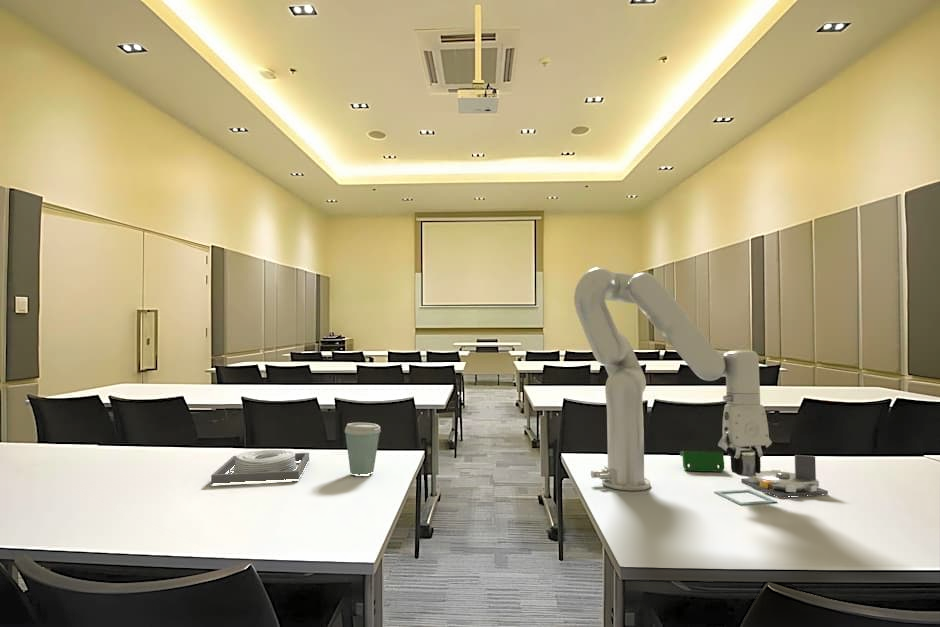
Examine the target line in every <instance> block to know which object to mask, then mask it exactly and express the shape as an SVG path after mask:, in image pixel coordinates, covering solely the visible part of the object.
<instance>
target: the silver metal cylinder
mask: <svg viewBox="0 0 940 627" xmlns="http://www.w3.org/2000/svg"><path fill="white" fill-rule="evenodd" d="M739 458H741V459H742V475H738V474H736V475H738V476H741V477H747V478H748V477H753V476H756V461H755V450H752V449H750V448H747V447H741V450H740V456H739Z"/></svg>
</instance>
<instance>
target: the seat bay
mask: <svg viewBox="0 0 940 627" xmlns="http://www.w3.org/2000/svg"><path fill="white" fill-rule="evenodd" d="M736 493H737V494H738V493H739V494H740V493H750V494H752V495H754V494H755V495H754V496H756V495H757V497H759V496H760V497H759V498H761V497H762V498H761V499H763V498H765V499H767V500H765V499H764V500H759V501H755V500H754V501H744V502H741V501H739V500H737V499H735V498H733V497H731V496H729V495H726V494H736ZM714 494H717V495H718V496H719V497H720V496H721V497H722V498H725V499H727V500H728V501H730V500H731V502H732V501H733V502H732V503H734V502H735V503H734V504H736V505H739V506H749V505H750V506H751V505H752V506H753V505H763V503H767V504H773V503H772V502H777V503H778V501H777V500H775V499H772V498H770V497H767V496H765V495H764V494H761V493H758V492H756V491H753V490H751V489H733V490H719V491H717V490H716V491H714ZM768 500H769V501H768Z"/></svg>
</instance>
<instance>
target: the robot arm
mask: <svg viewBox="0 0 940 627" xmlns="http://www.w3.org/2000/svg"><path fill="white" fill-rule="evenodd" d="M573 301H574V307H575V311H576V315H577V317H578V319H579V322H580V324H581V326H582V329H583V332H584V334H585V336H586V339H587V342H588V344H589V346H590V349H591V352H592V355H593V356H594V358H595V360H596V361H597V362H598V363H600V364H601V365H603V366H604V368H605V371H606V373H607V375H608V377H607V379H606V382H605V393H604V394H605V404H606V405H605V406H606V420H607V421H606V426H607V427H606V430H607V431H606V432H607V465H604V468H602V469H601V470H591V471H590V476H591V478H592V479H596V478H599V480H602V484H603V485H604V486H606V487H607V488H611V489H613V490H619V491H626V490H627V491H628V492H629V491H630V492H631V491H633V492H634V491H636V492H637V491H644V490H645V491H646V490H647V489H649V488H650V487H651V481H650V480H649V478H646V477H645V441H644V439H645V437H644V436H645V435H644V434H645V432H644V406H643V404H644V403H643V402H644V401H643V394H644V392H645V390H646V386H647V380H646V376H645V374H644V371H643V368H642V366H641V364H640V362H639V360H638V358H637V356H636V353H635V351H634V349H633V347H632V344H631V342H630V341H629V339H628V338H627V337H626V336H625V335H624V334H622V333H621V332H619V330H618V328H617V326H616V324H615V322H614V319H613V317H612V314H611V312H610V310H609V308H608V306H607V303H606V301H612V302H620V303H626V304H635V306H636V307H637V308H638V309H639V310H640V311H641V312H642V313H643V314H644V316H645V317H646V318H647V319H648V321H650V322H651V324H652V326H654V328H655V329H656V330H657V331H658V333H659V334H660V335H661V336H662V338H664V340H666V341H667V342H668V343H669V345H670V346H671V347H672V348H673V349H674V351H675V352H676V353H677V354H678V355H679V356H680V358H681V359H682V360H683V361H684V362H685V364H686V365H687V366H688V368H690V370H691V371H692V372H693V373H694V374H695V376H697V377H699V379H701V380H703V381H709V382H711V381H715V380H718V379H720V378H721V377H723V378H725V388H726V395H723V396H722V400H723V401H724V402H726V404H724V407H723V408H724V409H723V413H722V414H723V416H722V436H721V438H720V440H719V441H718V443H717V446H718V447H719V448H721V449H722V450H724V451H725V452H726V453H727V455H728V457H730V469H731V472H732V473H734V474H736V475H737V474H738V476H740V475H742V459H741V458H739V456H740V450H741V448H747V447H749V449H752V450H755V461H756V473H761V471H762V470H761V468H762V465H761V458H762V457H763V456H764V453H765V451H766V450H767V448H768V447H770V446H771V445H772V440H771V438H770V436H769V433H770V432H769V424H768V419H767V412H766V409H765V407H764V405H763V404H761V389H760V388H761V385H760V363H759V362H760V358H759V355H758V353H757V352H756V351H754V350H745V349H743V350H737V349H736V350H729V351H727V350H717V349H715V348H714V346H713V345H712V344H711V343H710V342H709V341H708V339H707V338H706V337H705V336H704V335H703V334H702V332H701V331H700V330H699V328H698V327H696V324H694V322H693V320H692V319H691V317H690V316H689V314H688V313H687V311H685V309H684V308H683V307H682V306H681V305H680V303H678V301H676V299H675V298H674V297H673V296H672V295H671V293H669V291H668V290H667V288H665V287H664V286H663V285H662V283H661V282H660V281H659V280H658V278H657V277H655V276H654V275H653V274H651V273H648V272H638V273H636V274H633V273H632V274H631V273H623V272H615V271H610V270H609V269H607V268H604V267H594V268H591V269H589V270H588V271H586V272H585V273H584V274H583V275H582V276H581V278H580V279H579V280H578V282H577V284H576V286H575V289H574V296H573Z"/></svg>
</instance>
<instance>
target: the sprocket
mask: <svg viewBox="0 0 940 627" xmlns="http://www.w3.org/2000/svg"><path fill="white" fill-rule="evenodd" d="M816 473H817V472H816V456H814V455H801V454H795V455H794V472H787V471H781V469H780V470H779V469H778V470H777V469H770V470H761V473H756V476H753V477H747V478H748V480H749V481H750V482H757V483H758V484H760V486H761V487H764V488H774V489H780V490H785V491H786V492H796V491H805V490H806V491H810V492H813V491H817V488H816V487H818V488H820V481H819V480H818V479H817V474H816Z"/></svg>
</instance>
